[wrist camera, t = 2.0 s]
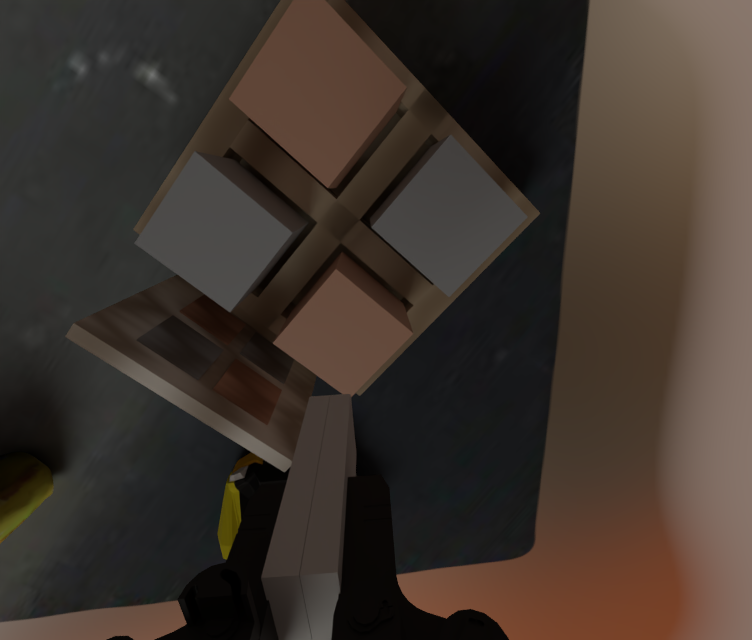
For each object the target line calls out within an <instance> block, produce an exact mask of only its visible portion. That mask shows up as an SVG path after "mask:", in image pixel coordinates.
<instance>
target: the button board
mask: <svg viewBox="0 0 752 640" xmlns="http://www.w3.org/2000/svg"><path fill="white" fill-rule="evenodd" d="M292 1H293V0H281V1H280V2H279V4H278V5H277V7H276V8H275V10H274V12H273V13H272V15H271V16H270V18H269V19H268V21H267V22H266V24H265V26H264V27H263V29H262V30H261V32H260V33H259V35H258V36H257V38H256V40H255V41H254V43H253V44H252V46H251V47H250V49H249V50H248V52H247V54H246V55H245V57H244V58H243V60H242V61H241V63H240V64H239V66H238V68H237V69H236V71H235V72H234V74H233V75H232V77H231V78H230V80H229V82H228V83H227V85H226V86H225V88H224V89H223V91H222V92H221V94H220V95H219V97H218V99H217V100H216V102H215V103H214V105H213V106H212V108H211V109H210V111H209V113H208V114H207V116H206V117H205V119H204V120H203V122H202V123H201V125H200V127H199V128H198V130H197V131H196V133H195V134H194V136H193V137H192V139H191V141H190V142H189V144H188V145H187V147H186V148H185V150H184V151H183V153H182V155H181V156H180V158H179V159H178V161H177V162H176V164H175V165H174V167H173V169H172V170H171V172H170V173H169V175H168V176H167V178H166V179H165V181H164V183H163V184H162V186H161V187H160V189H159V190H158V192H157V193H156V195H155V197H154V198H153V200H152V201H151V203H150V204H149V206H148V207H147V209H146V210H145V212H144V214H143V215H142V217H141V218H140V220H139V221H138V223H137V224H136V226H135V228H134V229H133V230H134V231H136V232H137V233H138V234H141V233H142V231H143V230H144V228H145V227H146V225H147V223H148V222H149V220H150V219H151V217H152V216H153V214H154V213H155V211H156V210H157V208H158V207H159V205H160V204H161V202H162V200H163V199H164V197H165V196H166V194H167V193H168V191H169V190H170V188H171V187H172V185H173V184H174V182H175V181H176V179H177V178H178V176H179V174H180V173H181V171H182V170H183V168H184V167H185V165H186V164H187V162H188V161H189V159H190V158H191V156H192V155H193V153H194V151H197V152H201V153H206V154H211V155H215V156H220V157H224V158H229V159H234V160H236V161H238V162H239V163H240V164H241V165H242V166H243V167H245V168H246V169H247V170H248V171H249V172H250V173H252V174H253V175H254V176H255V177H256V178H257V179H259V180H260V181H261V182H262V183H263V184H264V185H266V186H267V187H268V188H269V189H270V190H271V191H273V192H274V193H275V194H276V195H277V196H278V197H280V198H281V199H282V200H283V201H284V202H285V203H287V204H288V205H289V206H290V207H291V208H292V209H294V210H295V211H296V212H297V213H298V214H300V215H301V216H302V217H303V218H304V219H305V220H307V221H308V222H309V223H308V224H307V226H306V227H305V228H304V229H303V231H302V232H301V233H300V234H299V236H298V237H297V238H296V239H295V241H294V242H293V243H292V244H291V246H290V247H289V248H288V249H287V251H286V252H285V253H284V255H283V256H282V257H281V258H280V260H279V261H278V262H277V263H276V265H275V266H274V267H273V268H272V270H271V271H270V272H269V273H268V275H267V276H266V277H265V278H264V280H263V281H262V282H261V283H260V285H259V286H258V287H257V288H256V289H255V290H254V291H253V292H251V293H250V294H249V295H248V296H247V297H246V298H245V299H244V300H243V301H242V302H241V303H240V304H239V305H237V306H236V307H235V308H234V309H233V310H232V311H231V312H229V311H227V310H226V309H225V308H223V307H222V306H220V305H219V304H218V303H216V302H215V301H213V300H212V299H211V298H209V297H208V296H207V295H205V294H204V293H202V292H201V291H200V290H198V289H197V288H195V287H194V286H193V285H191V284H190V283H189V282H187V281H186V280H184V279H183V278H182V277H180V276H179V275H176V276H174V277H172V278H169V279H167V280H165V281H163V282H161V283H159V284H157V285H154V286H152V287H150V288H148V289H146V290H144V291H142V292H139V293H137V294H135V295H133V296H131V297H129V298H127V299H124V300H122V301H120V302H118V303H116V304H114V305H112V306H109V307H107V308H105V309H103V310H101V311H99V312H97V313H94V314H92V315H90V316H88V317H86V318H84V319H82V320H79V321H77V322H75V323H74V324H73V325H72V327H71V328H70V330H69V331H68V333H67V335H66V336H65V337H66V338H68V339H70V340H71V341H73V342H74V343H76V344H78V345H79V346H81V347H83V348H84V349H86V350H87V351H89V352H91V353H92V354H94V355H95V356H97V357H99V358H100V359H102V360H104V361H105V362H107V363H108V364H110V365H112V366H113V367H115V368H116V369H118V370H120V371H121V372H123V373H125V374H126V375H128V376H129V377H131V378H133V379H134V380H136V381H137V382H139V383H141V384H142V385H144V386H146V387H147V388H149V389H150V390H152V391H154V392H155V393H157V394H159V395H160V396H162V397H163V398H165V399H167V400H168V401H170V402H171V403H173V404H175V405H176V406H178V407H180V408H181V409H183V410H184V411H186V412H188V413H189V414H191V415H192V416H194V417H196V418H197V419H199V420H201V421H202V422H204V423H205V424H207V425H209V426H210V427H212V428H213V429H215V430H217V431H218V432H220V433H222V434H223V435H225V436H226V437H228V438H230V439H231V440H233V441H234V442H236V443H238V444H239V445H241V446H243V447H244V448H246V449H247V450H249V451H251V452H252V453H254V454H256V455H257V456H259V457H260V458H262V459H264V460H265V461H267V462H268V463H270V464H272V465H273V466H275V467H277V468H278V469H280V470H281V471H283V472H286V471H287V470H288V469H289V468H290V467H291V464H292V460H293V457H294V453H295V449H296V445H297V442H298V438H299V434H300V430H301V427H302V423H303V419H304V416H305V412H306V408H307V404H308V401H309V397H311V395H312V391H313V387H314V383H315V379H316V376H317V375H316V374H314V373H313V372H312V371H310V370H309V369H307V368H306V367H305V366H303V365H302V364H301V363H299V362H298V361H296V360H295V359H294V358H292V357H291V356H289V355H288V354H287V353H285V352H284V351H283V350H281V349H280V348H278V347H277V346H276V345H274V344H273V342H274V340H275V338H276V337H277V335H278V333H279V332H280V330H281V328H282V327H283V325H284V323H285V321H286V320H287V318H288V316H289V315H290V313H291V311H292V310H293V309H294V308H295V306H296V305H297V304H298V303H299V302H300V300H301V299H302V298H303V297H304V296H305V295H306V293H307V292H308V291H309V290H310V289H311V287H312V286H313V285H314V284H315V283H316V281H317V280H318V279H319V278H320V277H321V276H322V274H323V273H324V272H325V271H326V270H327V268H328V267H329V266H330V265H331V264H332V263H333V261H334V260H335V259H336V258H337V257H338V255H339V254H340V253H341V252H342V251H343V252H344V253H345V254H346V255H347V256H349V257H350V258H351V259H352V260H353V261H354V262H356V263H357V264H358V265H359V266H360V267H362V268H363V269H364V270H365V271H366V272H367V273H369V274H370V275H371V276H372V277H373V278H374V279H376V280H377V281H378V282H379V283H380V284H381V285H383V286H384V287H385V288H386V289H387V290H388V291H390V292H391V293H392V294H393V295H394V296H395V297H397V298H398V299H399V300H400V301H401V302H402V303H403V304H404V307H405V310H406V313H407V316H408V319H409V322H410V325H411V328H412V330H413V333H414V334H413V335H412V336H411V337H410V338H409V339H408V340H407V341H406V342H405V343H404V344H403V345H402V346H401V347H400V348H399V349H398V350H397V351H396V352H395V353H394V354H393V355H392V356H391V357H390V358H389V359H388V360H387V361H386V362H385V363H384V364H383V365H382V366H381V367H380V368H379V369H378V370H377V371H376V372H375V373H374V374H373V375H372V376H371V377H370V378H369V379H368V380H367V381H366V382H365V384H364V385H363V386H362V387H361V388H360V389H359V390H358V391H357V392H356V394H358V395H359V396H360V395H361V394H362V393H363V392H364V391H365V390H366V389H367V388H368V387H369V386H370V385H371V384H372V383H373V382H374V381H375V380H376V379H377V378H378V377H379V376H380V375H381V374H382V373H383V372H384V371H385V370H386V369H387V368H388V367H389V366H390V365H391V364H392V363H393V362H394V361H395V360H396V359H397V358H398V357H399V356H400V355H401V354H402V353H403V352H404V351H405V350H406V349H407V348H408V346H409V345H410V344H411V343H412V342H413V341H414V340H415V339H416V338H417V337H418V336H419V335H420V334H421V333H422V332H423V331H424V330H425V329H426V328H427V327H428V326H429V325H430V324H431V323H432V322H433V321H434V320H435V319H436V318H437V317H438V316H439V315H440V314H441V313H442V312H443V311H444V310H445V309H446V308H447V307H448V306H449V305H450V304H451V303H452V302H453V301H454V300H455V299H456V298H457V297H458V296H459V295H460V294H461V293H462V292H463V291H464V290H465V289H466V288H467V287H468V286H469V285H470V284H471V283H472V282H473V281H474V280H475V279H476V278H477V277H478V276H479V275H480V274H481V273H482V272H483V271H484V270H485V269H486V268H487V267H488V266H489V265H490V264H491V262H492V261H493V260H494V259H495V258H496V257H497V256H498V255H499V254H500V253H501V252H502V251H503V250H504V249H505V248H506V247H507V246H508V245H509V244H510V243H511V242H512V241H513V240H514V239H515V238H516V237H517V236H518V235H519V234H520V233H521V232H522V231H523V230H524V229H525V228H526V227H527V226H528V225H529V224H530V223H531V222H532V221H533V220H534V219H535V218H536V217H537V216H538V215H539V214H540V212H539V211H538V210H537V209H536V208H535V207H534V206H533V205H532V204H531V203H530V202H529V200H528V199H527V198H526V197H525V196H524V195H523V194H522V193H521V192H520V191H519V190H518V188H517V187H516V186H515V185H514V184H513V183H512V182H511V181H510V180H509V179H508V178H507V177H506V175H505V174H504V173H503V172H502V171H501V170H500V169H499V168H498V167H497V166H496V165H495V163H494V162H493V161H492V160H491V159H490V158H489V157H488V156H487V155H486V154H485V153H484V152H483V150H482V149H481V148H480V147H479V146H478V145H477V144H476V143H475V142H474V141H473V140H472V138H471V137H470V136H469V135H468V134H467V133H466V132H465V131H464V130H463V129H462V128H461V126H460V125H459V124H458V123H457V122H456V121H455V120H454V119H453V118H452V117H451V116H450V115H449V113H448V112H447V111H446V110H445V109H444V108H443V107H442V106H441V105H440V104H439V103H438V101H437V100H436V99H435V98H434V97H433V96H432V95H431V94H430V93H429V92H428V91H427V90H426V88H425V87H424V86H423V85H422V84H421V83H420V82H419V81H418V80H417V79H416V78H415V76H414V75H413V74H412V73H411V72H410V71H409V70H408V69H407V68H406V67H405V66H404V64H403V63H402V62H401V61H400V60H399V59H398V58H397V57H396V56H395V55H394V54H393V53H392V51H391V50H390V49H389V48H388V47H387V46H386V45H385V44H384V43H383V42H382V41H381V39H380V38H379V37H378V36H377V35H376V34H375V33H374V32H373V31H372V30H371V29H370V28H369V26H368V25H367V24H366V23H365V22H364V21H363V20H362V19H361V18H360V17H359V16H358V14H357V13H356V12H355V11H354V10H353V9H352V8H351V7H350V6H349V5H348V4H347V2H346V1H345V0H325V1H326V2H327V3H328V4H329V5H330V6H331V7H332V8H333V9H334V10H335V11H336V12H337V13H338V15H339V16H340V17H341V18H342V19H343V20H344V21H345V22H346V23H347V24H348V25H349V26H350V27H351V28H352V29H353V31H354V32H355V33H356V34H357V35H358V36H359V37H360V38H361V39H362V40H363V41H364V42H365V43H366V44H367V46H368V47H369V48H370V49H371V50H372V51H373V52H374V53H375V54H376V55H377V56H378V57H379V58H380V59H381V60H382V62H383V63H384V64H385V65H386V66H387V67H388V68H389V69H390V70H391V71H392V72H393V73H394V74H395V75H396V77H397V78H398V79H399V80H400V81H401V82H402V83H403V84H404V85H405V86H406V87H407V88H406V91H405V93H404V95H403V98H402V100H401V102H400V105H399V107H398V109H397V112H396V113H395V115H394V116H393V117H392V118H391V120H390V121H389V122H388V123H387V125H386V126H385V127H384V128H383V130H382V131H381V132H380V134H379V135H378V136H377V137H376V139H375V140H374V141H373V142H372V144H371V145H370V146H369V147H368V149H367V150H366V151H365V152H364V154H363V155H362V156H361V157H360V159H359V160H358V161H357V162H356V164H355V165H354V166H353V168H352V169H351V170H350V171H349V173H348V174H347V175H346V176H345V178H344V179H343V180H342V181H341V183H340V184H339V185H338V186H337V188H327V187H326V186H325V185H324V184H323V183H321V182H320V181H319V180H318V179H317V178H316V177H315V176H314V175H313V174H311V173H310V172H309V171H308V170H307V169H306V168H305V167H304V166H303V165H301V164H300V163H299V162H298V161H297V160H296V159H295V158H294V157H293V156H291V155H290V154H289V153H288V152H287V151H286V150H285V149H284V148H283V147H281V146H280V145H279V144H278V143H277V142H276V141H275V140H274V139H273V138H271V137H270V136H269V135H268V134H267V133H266V132H265V131H264V130H263V129H261V128H260V127H259V126H258V125H257V124H256V123H255V122H254V121H253V120H252V119H250V118H249V117H248V116H247V115H246V114H245V113H244V112H243V111H242V110H240V109H239V108H238V107H237V106H236V105H235V104H234V103H233V102H232V101H230V100H229V98H230V96H231V95H232V93H233V92H234V90H235V89H236V87H237V86H238V84H239V82H240V81H241V79H242V78H243V76H244V75H245V73H246V72H247V70H248V69H249V67H250V66H251V64H252V63H253V61H254V60H255V58H256V56H257V55H258V53H259V52H260V50H261V49H262V47H263V46H264V44H265V43H266V41H267V40H268V38H269V37H270V35H271V33H272V32H273V30H274V29H275V27H276V26H277V24H278V23H279V21H280V20H281V18H282V17H283V15H284V14H285V12H286V10H287V9H288V7H289V6H290V4H291V3H292ZM450 134H451V135H452V136H453V137H454V139H455V140H456V141H457V142H458V143H459V144H460V145H461V146H462V147H463V148H464V149H465V150H466V151H467V152H468V153H469V155H470V156H471V157H472V158H473V159H474V160H475V161H476V162H477V163H478V164H479V165H480V166H481V167H482V168H483V169H484V171H485V172H486V173H487V174H488V175H489V176H490V177H491V178H492V179H493V180H494V181H495V182H496V183H497V184H498V186H499V187H500V188H501V189H502V190H503V191H504V192H505V193H506V194H507V195H508V196H509V197H510V198H511V199H512V200H513V202H514V203H515V204H516V205H517V206H518V207H519V208H520V209H521V210H522V211H523V212H524V213H525V214H526V215H527V218H526V219H525V220H524V221H523V222H522V223H521V224H520V225H519V226H518V227H517V228H516V230H515V231H514V232H513V233H512V234H511V235H510V236H509V237H508V238H507V239H506V240H505V241H504V242H503V243H502V244H501V245H500V246H499V247H498V248H497V249H496V250H495V251H494V252H493V253H492V254H491V255H490V256H489V257H488V258H487V259H486V260H485V261H484V262H483V263H482V264H481V265H480V266H479V267H478V268H477V269H476V270H475V271H474V272H473V273H472V274H471V275H470V276H469V277H468V278H467V279H466V281H465V282H464V283H463V284H462V285H461V286H460V287H459V288H458V289H457V290H456V291H455V292H454V293H453V294H452V295H451V296H450V297H448V296H447V295H446V294H445V293H444V292H442V291H441V290H440V289H439V288H438V287H437V286H436V285H435V284H434V283H432V282H431V281H430V280H429V279H428V278H427V277H426V276H425V275H424V274H422V273H421V272H420V271H419V270H418V269H417V268H416V267H415V266H414V265H412V264H411V263H410V262H409V261H408V260H407V259H406V258H405V257H404V256H402V255H401V254H400V253H399V252H398V251H397V250H396V249H395V248H394V247H392V246H391V245H390V244H389V243H388V242H387V241H386V240H385V239H384V238H383V237H381V236H380V235H379V234H378V233H377V232H376V231H375V230H374V229H373V228H371V223H370V217H371V216H372V215H373V214H374V213H375V212H376V210H377V209H378V208H379V207H380V206H381V204H382V203H383V202H384V201H385V200H386V199H387V197H388V196H389V195H390V194H391V193H392V191H393V190H394V189H395V188H396V187H397V185H398V184H399V183H400V182H401V181H402V180H403V178H404V177H405V176H406V175H407V174H408V172H409V171H410V170H411V169H412V168H413V167H414V165H415V164H416V163H417V162H418V161H419V159H420V158H421V157H422V156H423V155H424V153H425V152H426V151H427V150H428V149H429V148H430V147H431V146H433V145H434V144H436V143H437V142H439V141H441V140H442V139H444V138H446V137H447V136H449V135H450Z"/></svg>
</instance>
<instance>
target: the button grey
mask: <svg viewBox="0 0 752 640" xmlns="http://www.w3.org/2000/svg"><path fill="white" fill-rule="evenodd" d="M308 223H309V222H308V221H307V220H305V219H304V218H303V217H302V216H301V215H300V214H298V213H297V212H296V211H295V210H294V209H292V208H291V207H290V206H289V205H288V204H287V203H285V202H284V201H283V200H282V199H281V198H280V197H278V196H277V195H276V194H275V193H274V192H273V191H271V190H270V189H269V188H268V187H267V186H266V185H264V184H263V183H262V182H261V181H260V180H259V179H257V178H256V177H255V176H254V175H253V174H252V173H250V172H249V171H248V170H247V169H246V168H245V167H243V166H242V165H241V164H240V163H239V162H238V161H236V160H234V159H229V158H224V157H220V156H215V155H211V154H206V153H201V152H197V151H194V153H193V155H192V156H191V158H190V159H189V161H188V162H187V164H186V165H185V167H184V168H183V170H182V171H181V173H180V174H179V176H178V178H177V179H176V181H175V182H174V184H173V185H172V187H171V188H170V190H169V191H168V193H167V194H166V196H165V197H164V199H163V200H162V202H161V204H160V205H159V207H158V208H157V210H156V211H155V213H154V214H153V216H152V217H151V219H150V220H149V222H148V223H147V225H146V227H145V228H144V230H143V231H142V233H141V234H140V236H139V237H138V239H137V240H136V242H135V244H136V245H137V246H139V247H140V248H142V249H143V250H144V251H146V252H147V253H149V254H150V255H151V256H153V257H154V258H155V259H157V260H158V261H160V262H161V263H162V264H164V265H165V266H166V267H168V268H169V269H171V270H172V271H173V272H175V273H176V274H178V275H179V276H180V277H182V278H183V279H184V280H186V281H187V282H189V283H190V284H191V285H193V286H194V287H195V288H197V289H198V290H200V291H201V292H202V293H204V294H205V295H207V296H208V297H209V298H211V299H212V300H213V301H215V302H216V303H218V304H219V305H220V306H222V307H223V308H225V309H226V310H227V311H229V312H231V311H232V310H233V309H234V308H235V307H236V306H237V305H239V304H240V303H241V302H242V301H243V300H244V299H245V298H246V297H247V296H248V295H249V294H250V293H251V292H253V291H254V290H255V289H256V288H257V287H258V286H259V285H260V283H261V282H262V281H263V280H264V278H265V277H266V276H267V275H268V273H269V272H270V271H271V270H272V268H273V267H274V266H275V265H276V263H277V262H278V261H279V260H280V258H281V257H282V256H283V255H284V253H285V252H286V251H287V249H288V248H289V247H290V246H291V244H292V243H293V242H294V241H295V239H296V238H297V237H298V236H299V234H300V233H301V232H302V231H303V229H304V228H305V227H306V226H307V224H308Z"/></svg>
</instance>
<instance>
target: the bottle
mask: <svg viewBox="0 0 752 640" xmlns="http://www.w3.org/2000/svg"><path fill="white" fill-rule="evenodd" d="M52 493H53V478H52V474H51V471H50V469H49V467H47V466H46V465H45V464H43V463H42V462H40V461H39V460H38V459H37V458H35V457H33V456H31V455H30V454H28V453H25V452H13V453H9V454H5V455H2V456H0V543H1V542H2V541H3V540H5V539H6V538H7V537H8V536H9V535H10V534H11V533H12V532H13V531H14V530H15V529H16V528H17V527H18V526H19V525H20V524H21V523H22V522H23V521H24V520H25V519H27V518H28V517H29V516H30V515H31V514H32V513H33V512H34V510H35V509H36V508H37V507H38V506H39V505H40V504H41V503H42V502H43V501H44V500H45V499H46V498H47V497H49V496H50V495H51V494H52Z"/></svg>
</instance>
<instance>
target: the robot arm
mask: <svg viewBox="0 0 752 640" xmlns="http://www.w3.org/2000/svg"><path fill="white" fill-rule="evenodd" d="M178 602H179V604H180V607H181V610H182V612H183V615H184V617H185V620H186V623H187V624H186V625H185V626H183V627H181V628H180V629H178V630H176V631H174V632H172V633H169V634H167V635H165V636H162V637H160V638H157V639H155V640H509V639H508V637H507V636H506V634H505V633H504V632H503V630H502V629H501V627H500V626H499V625H498V623H497V622H495V621H494V620H493V619H491V618H490V617H489V616H487V615H486V614H485V613H482V612H478V611H475V610H471V609H469V610H460V611H457V612H455V613H454V614H452V615H451V616H449V617H448V618H447V619H446V618H443V617H440V616H436V615H433V614H430V613H427V612H425V611H422V610H420V609H418V608H416V607H415V606H414V605H413V604H411V603H410V602H409V601H408V600H407V599H406V597H405V596H404V595H403V594H402V592H401V589H400V587H399V585H398V581H397V577H396V567H395V554H394V542H393V529H392V516H391V504H390V491H389V487H388V485H387V483H386V482H385V480H384V478H383V477H382V475H368V476H356V444H355V434H354V424H353V414H352V404H351V394H342V395H327V396H313V397H309V401H308V404H307V408H306V412H305V416H304V419H303V423H302V427H301V430H300V434H299V438H298V442H297V445H296V449H295V453H294V457H293V460H292V464H291V468H290V472H289V475H288V479H287V482H284V483H270V484H261V486H260V487H259V488H258V489H257V490H256V492H255V493H254V494H253V495H252V496H251V498H250V499H249V501H248V504H247V507H246V509H245V512H244V515H243V519H242V520H241V523H240V525H239V528H238V533H237V534H236V536H235V539H234V541H233V544H232V547H231V549H230V552H229V555H228V558H227V560H226V563H222V564H218V565H214V566H211V567H209V568H207V569H206V570H204V571H202V572H201V573H199V574H198V575H197V576H196V577H195V578H194V579H192V580H191V581H190V582H189V583H188V584H187V585H186V587H185V588H184V590H183V592H182V593H181V595H180V596H179V598H178ZM107 640H133V639H132V638H130V637H129V636H115V637H112V638H110V639H107Z"/></svg>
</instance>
